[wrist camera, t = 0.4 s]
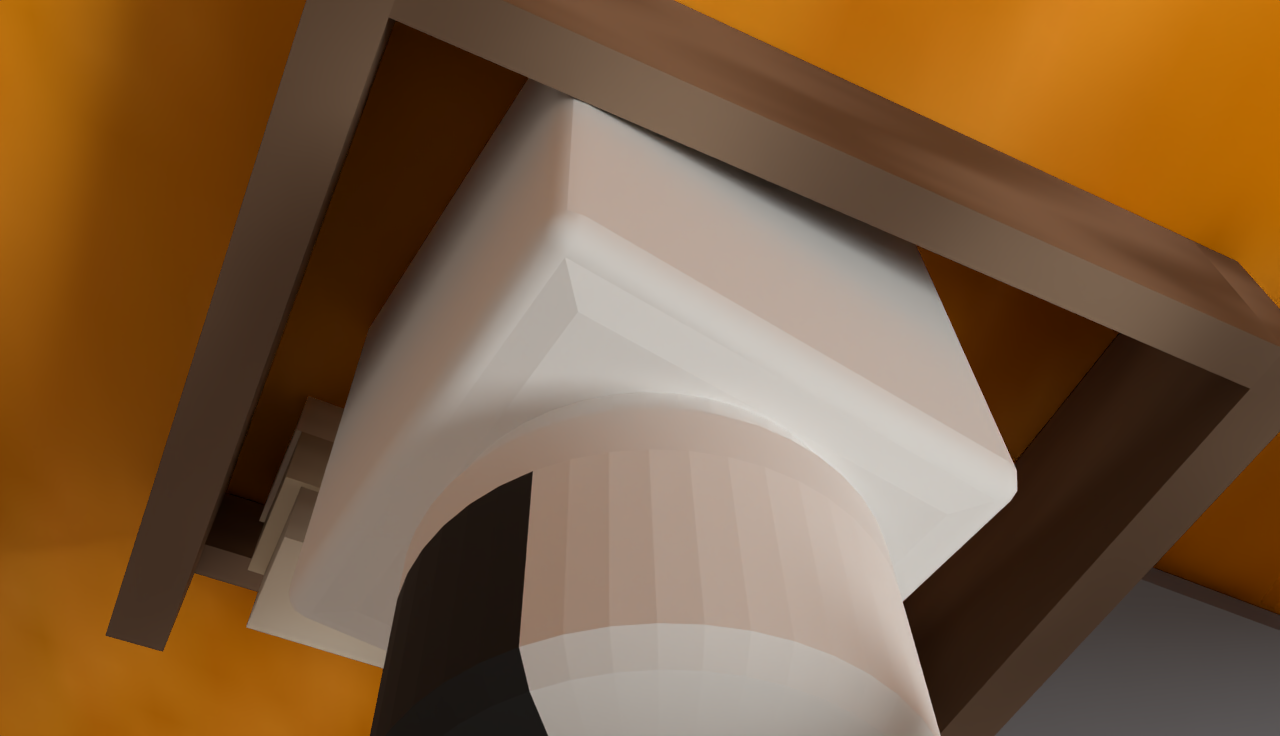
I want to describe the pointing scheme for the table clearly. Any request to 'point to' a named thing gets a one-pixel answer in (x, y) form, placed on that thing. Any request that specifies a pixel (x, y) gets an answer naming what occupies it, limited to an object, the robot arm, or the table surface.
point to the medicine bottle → (647, 453)
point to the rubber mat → (1165, 670)
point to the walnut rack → (840, 179)
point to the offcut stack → (299, 538)
